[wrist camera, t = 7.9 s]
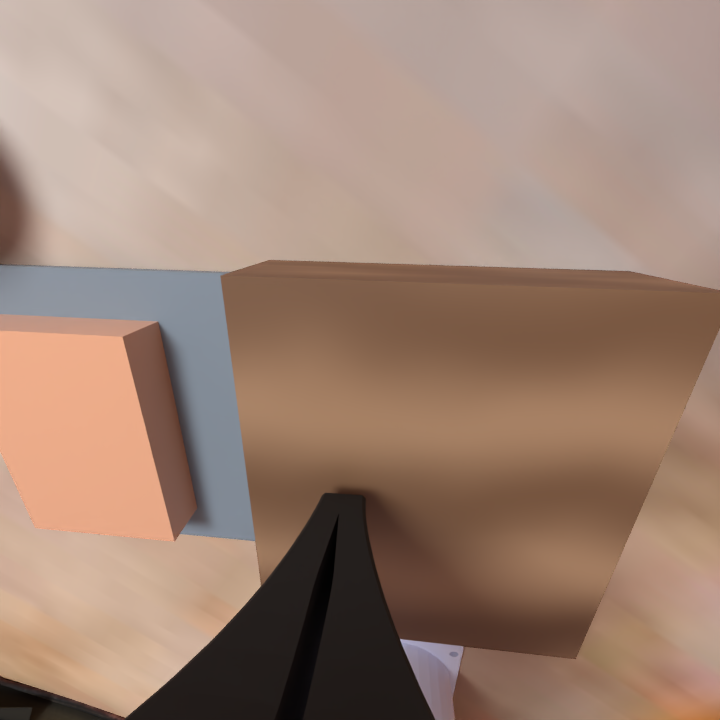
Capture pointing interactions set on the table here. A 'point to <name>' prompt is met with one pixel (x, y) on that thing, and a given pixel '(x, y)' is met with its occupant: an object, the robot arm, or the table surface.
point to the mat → (184, 360)
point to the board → (465, 428)
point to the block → (93, 426)
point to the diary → (44, 705)
